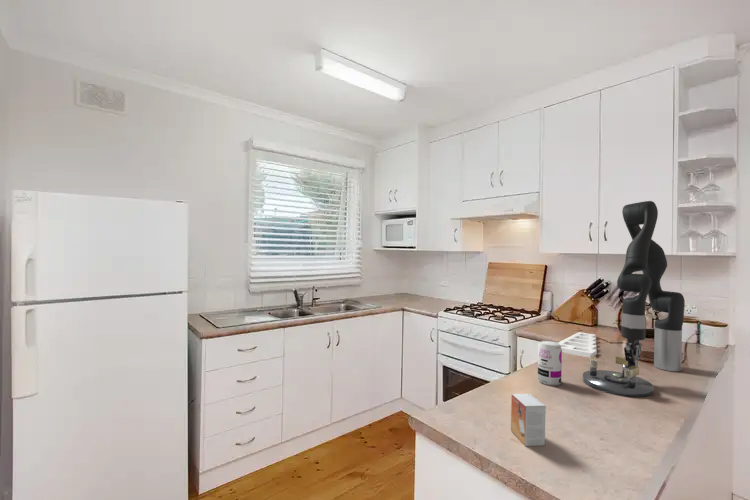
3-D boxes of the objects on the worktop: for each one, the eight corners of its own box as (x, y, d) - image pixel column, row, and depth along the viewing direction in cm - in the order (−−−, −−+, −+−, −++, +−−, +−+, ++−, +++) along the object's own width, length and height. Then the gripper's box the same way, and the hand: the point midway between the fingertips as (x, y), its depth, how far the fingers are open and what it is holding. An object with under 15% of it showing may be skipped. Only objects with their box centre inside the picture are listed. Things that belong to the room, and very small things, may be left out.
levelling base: (600, 371, 151) (600, 361, 151) (663, 389, 132) (664, 378, 132) (571, 381, 139) (571, 371, 139) (636, 402, 120) (636, 390, 120)
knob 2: (632, 383, 131) (632, 365, 131) (639, 385, 129) (639, 367, 129) (623, 387, 127) (624, 368, 127) (630, 389, 125) (631, 370, 125)
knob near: (615, 373, 142) (615, 356, 142) (618, 372, 143) (618, 355, 143) (634, 378, 136) (634, 360, 136) (636, 377, 138) (636, 359, 138)
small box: (510, 431, 101) (510, 393, 101) (529, 430, 101) (530, 392, 101) (524, 446, 93) (525, 405, 93) (545, 446, 93) (546, 405, 93)
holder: (578, 336, 214) (578, 332, 214) (614, 342, 201) (614, 337, 201) (551, 351, 182) (551, 346, 182) (591, 359, 170) (591, 353, 170)
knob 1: (589, 372, 142) (589, 355, 142) (595, 373, 141) (596, 356, 141) (590, 377, 137) (590, 359, 137) (597, 378, 136) (597, 360, 136)
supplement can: (560, 380, 140) (561, 341, 140) (561, 387, 133) (562, 347, 133) (537, 377, 144) (538, 339, 144) (537, 384, 136) (538, 344, 136)
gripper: (627, 322, 145) (626, 364, 145) (616, 326, 136) (615, 372, 136) (650, 325, 139) (649, 369, 139) (640, 329, 130) (639, 377, 130)
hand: (632, 370), depth 138 cm, fingers closed on knob near, 2 cm apart
